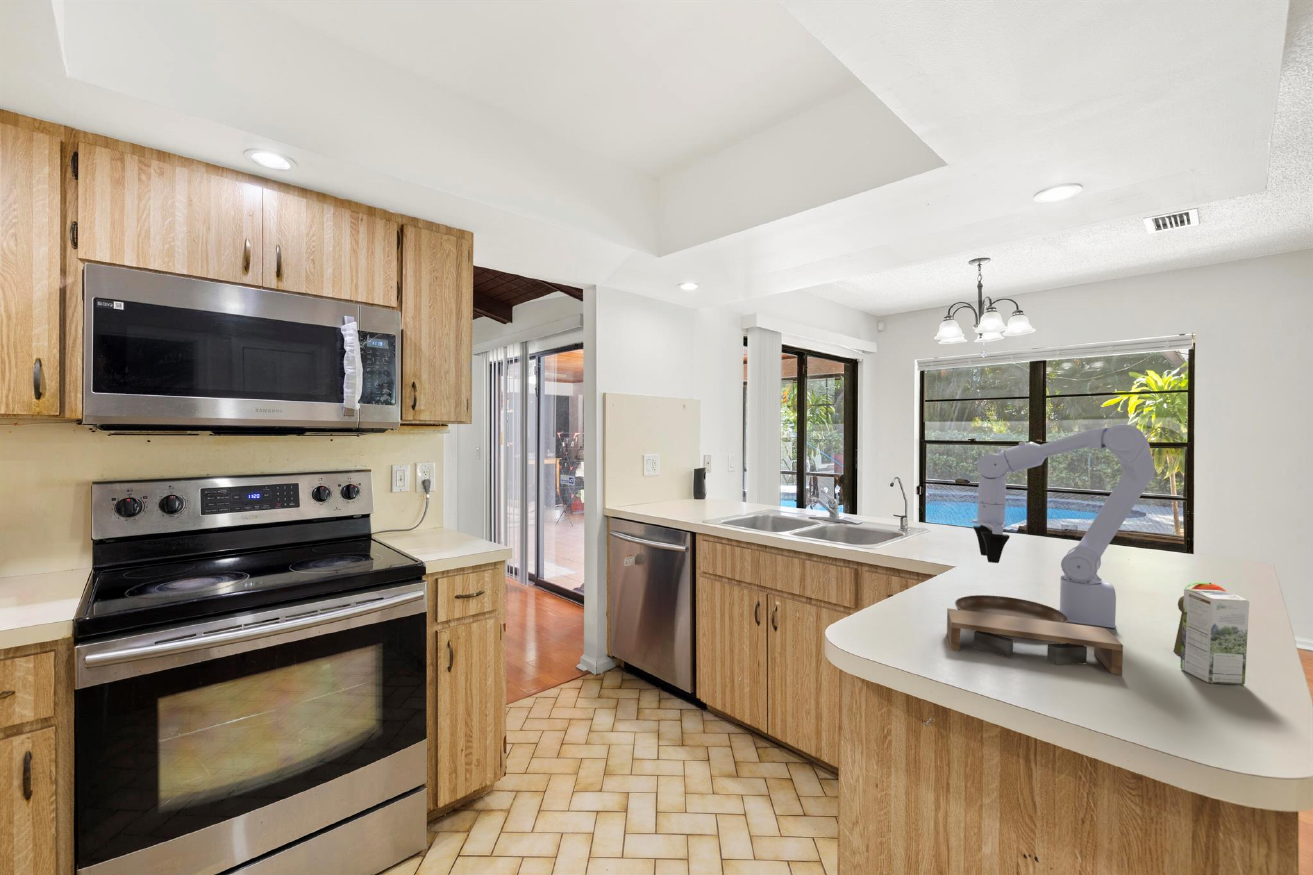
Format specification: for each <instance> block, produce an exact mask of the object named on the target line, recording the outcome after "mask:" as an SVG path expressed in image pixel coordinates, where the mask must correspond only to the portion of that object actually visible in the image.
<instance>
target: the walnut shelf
mask: <svg viewBox="0 0 1313 875" xmlns="http://www.w3.org/2000/svg"><path fill="white" fill-rule="evenodd" d="M946 611H947V616H946V618H947V619H946V636H947V639H948V643H949V647H950V650H951V651H961V630H966V631H974V632H973V633H974V634H973V648H974V649H979V650H982V651H985V652H988V653H991V654H995V655H999V656H1001V657H1005V658H1007V659H1008V658H1011V657H1013V655H1014V639H1013V638H1010V637H1008V636H1012V637H1019V638H1027V639H1034V640H1040V641H1041V640H1042V641H1048V642H1054V643H1047V648H1046V650H1047V651H1046V653H1047V655H1046V659H1047V660H1046V661H1047V662H1049V663H1052V664H1053V663H1054V664H1053V665H1055V666H1065V665H1084V664H1083V663H1087V662H1088V660H1087V657H1088V656H1087V655H1088V647H1093V655H1094V654H1095V655H1094V656H1095V657H1096V658H1097V659H1098V661H1099V662H1100V661H1101V662H1102V663H1103V664H1102V663H1101V662H1100V663H1101V664H1102V665H1103V666H1104V668H1106V669H1107V670H1108V672H1109V671H1110V672H1111V673H1110V672H1109V673H1110V674H1113V675H1118V674H1119V675H1120V676H1122V675H1123V661H1124V660H1123V655H1124V645H1123V643H1122V642H1120V640H1118V638H1116V637H1115V635H1113V634H1112V633H1111V632H1110V631H1109V630H1107V629H1106V627H1102V626H1094V625H1086V624H1078V623H1070V622H1066V623H1061V622H1053V621H1045V620H1037V619H1029V618H1021V617H1013V616H1005V615H997V614H989V613H981V612H973V611H965V610H958V609H957V608H955V609H954V608H947V610H946ZM1004 635H1005V636H1004ZM1055 642H1056V643H1055ZM1119 675H1118V676H1119Z"/></svg>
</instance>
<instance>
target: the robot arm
mask: <svg viewBox="0 0 1313 875" xmlns="http://www.w3.org/2000/svg"><path fill="white" fill-rule="evenodd" d="M1085 448H1088V449H1089V448H1090V449H1096V450H1097V449H1099V450H1103V449H1105V448H1107V450H1109V452H1110V453H1111V454H1112V455H1113V456H1115V457H1116V459H1117V461H1118V463H1119V464H1120V466H1121V468H1122V471H1123V474H1122V475H1121V477H1120V479H1119V480H1118V482H1117V483H1116V485H1115V486H1114V489H1112V492H1110V495H1108V497H1107V499H1106V501H1105V502H1104V503H1103V505H1102V507H1101V509H1100V510H1099V511H1098V513H1097V514H1096V516H1095V517H1094V519H1093V521H1092V522H1091V524H1090V525H1089V528H1088V529H1087V530H1086V532H1085V533H1084V534H1083V535H1084V536H1083V537H1082V538H1081V539H1080V541H1079V543H1078V544H1077V545H1076V546H1074V547H1072V548H1071V549H1070V550H1068V551H1067V553H1066V554H1065V555H1064V556H1063V558H1062V560H1061V562H1060V567H1061V571H1062V572H1063V573H1061V574H1060V586H1059V587H1060V589H1059V594H1060V595H1059V609H1057V610H1058V611H1060V612H1062V613H1064V614H1065V615H1066V616H1067V618H1068V621H1067V622H1066V623H1069V624H1077V625H1085V626H1094V627H1102V628H1110V629H1111V628H1112V629H1117V625H1116V612H1117V611H1116V609H1117V607H1116V606H1117V596H1116V594H1117V593H1116V589H1115V587H1114V585H1113V584H1112V583H1110V582H1106V581H1102V578H1101V577H1100V576H1099V575H1098V570H1099V569H1100V567H1101V564H1102V559H1101V558H1102V555H1103V554H1104V552H1105V551H1106V550H1107V548H1108V546H1109V544H1110V543H1111V542H1112V541H1113V539H1114V537H1115V536H1116V534H1117V533H1118V531H1119V530H1120V528H1121V527H1122V525H1123V523H1124V522H1125V521H1126V519H1127V517H1128V516H1129V514H1130V513H1131V511H1132V510H1133V508H1134V507H1135V505H1136V504H1137V502H1138V500H1139V499H1140V497H1141V496H1142V494H1143V493H1144V491H1145V490H1146V488H1147V487H1148V485H1149V484H1150V483H1151V480H1152V479H1153V477H1154V476H1155V473H1156V470H1155V465H1154V459H1153V455H1152V451H1151V446H1150V442H1149V440H1148V439H1147V438H1146V436H1145V435H1144V433H1143V431H1142V430H1141V429H1140V428H1138V427H1136V426H1135V425H1131V424H1127V423H1121V424H1119V423H1118V424H1115V425H1111V427H1109V426H1105V427H1097V428H1093V429H1087V430H1083V431H1080V432H1077V433H1074V434H1070V435H1068V436H1064V437H1062V438H1058V439H1055V440H1052V441H1049V442H1046V443H1042V444H1038V443H1036V442H1033V441H1029V442H1027V441H1026V440H1024V441H1020V442H1018V445H1015V446H1012V447H1009V448H1005V449H1003V448H998V449H996V452H997V453H993V452H991V453H989V452H988V453H986V454H984V455H982V456H981V457H980V458H979V459H978V461H977V462H976V469H977V471H978V472H979V481H978V482H979V483H978V491H977V493H978V495H977V496H978V497H977V517H976V519H973V518H972V519H971V523H972V524H977V525H973V526H972V528H973V530H974V532H975V534H976V538H977V540H978V541H977V542H978V547H979V552H980V556H986V559H987V562H988V563H992V564H999V563H1000V561H1001V557H1002V553H1003V550H1004V547H1005V545H1006V543H1007V542H1008V541H1009V540H1010V537H1011V536H1010V535H1009V534H1004V528H1005V526H1006V524H1007V522H1006V500H1007V499H1006V496H1007V495H1006V494H1007V493H1006V492H1007V485H1006V482H1007V481H1006V477H1007V476H1006V475H1007V473H1011V474H1013V473H1017V472H1021V471H1024V470H1028V469H1032V468H1035V467H1039V466H1042V465H1043V463H1044V461H1045V459H1047V458H1048V457H1052V456H1058V455H1060V454H1061V455H1062V454H1064V453H1069V452H1073V451H1076V450H1080V449H1085Z"/></svg>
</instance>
